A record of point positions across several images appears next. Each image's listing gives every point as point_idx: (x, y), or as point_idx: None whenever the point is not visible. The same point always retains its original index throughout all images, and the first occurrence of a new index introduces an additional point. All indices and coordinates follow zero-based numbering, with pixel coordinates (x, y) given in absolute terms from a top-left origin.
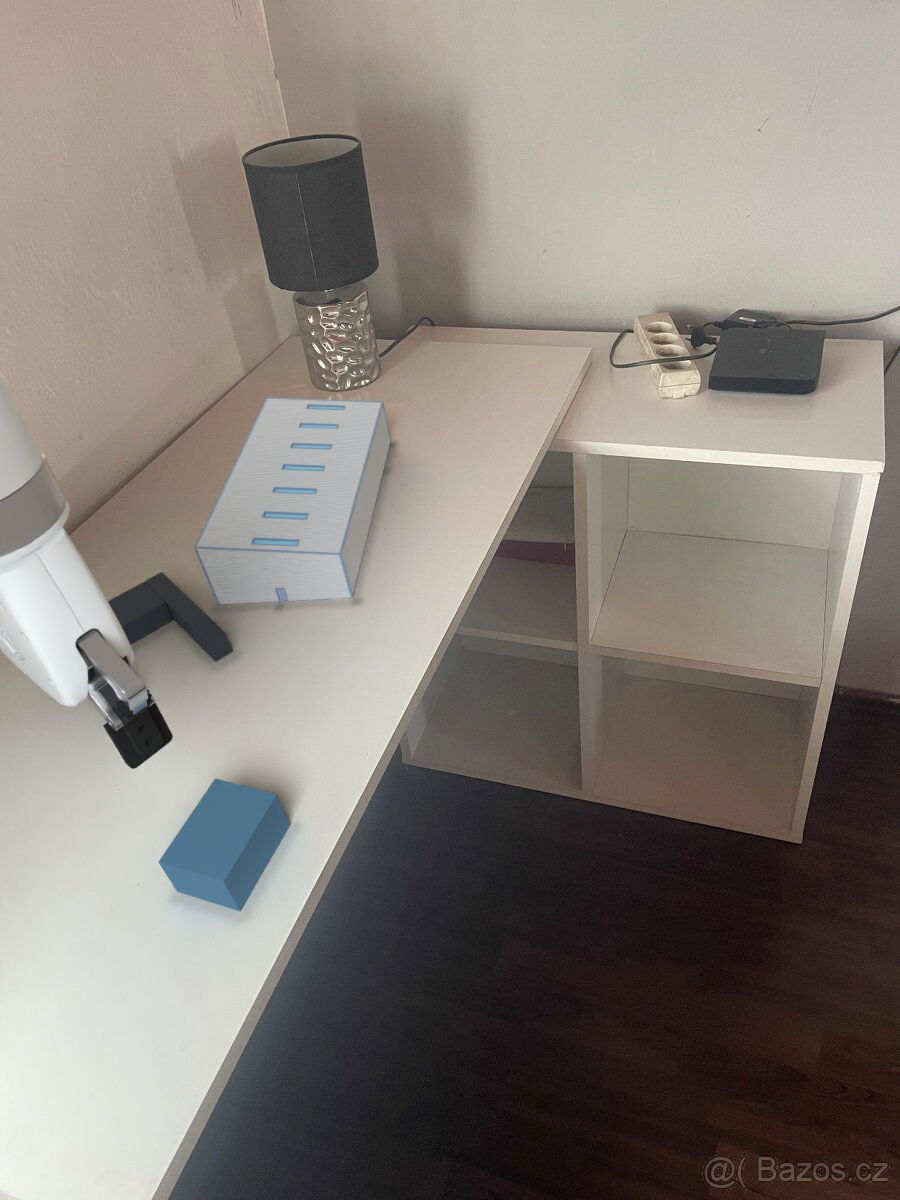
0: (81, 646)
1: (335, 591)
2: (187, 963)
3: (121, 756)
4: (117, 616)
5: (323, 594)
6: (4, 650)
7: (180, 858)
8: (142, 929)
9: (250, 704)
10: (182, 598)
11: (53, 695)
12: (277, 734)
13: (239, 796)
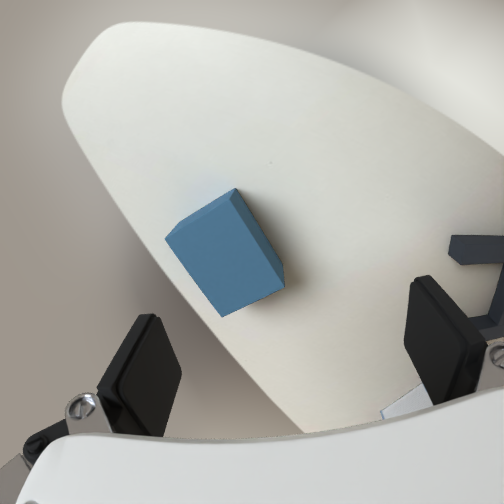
0: None
1: (392, 409)
2: (165, 167)
3: (144, 326)
4: None
5: (399, 402)
6: (481, 442)
7: (216, 218)
8: (221, 147)
9: (369, 325)
10: (488, 337)
11: (92, 458)
12: (322, 327)
13: (244, 293)
